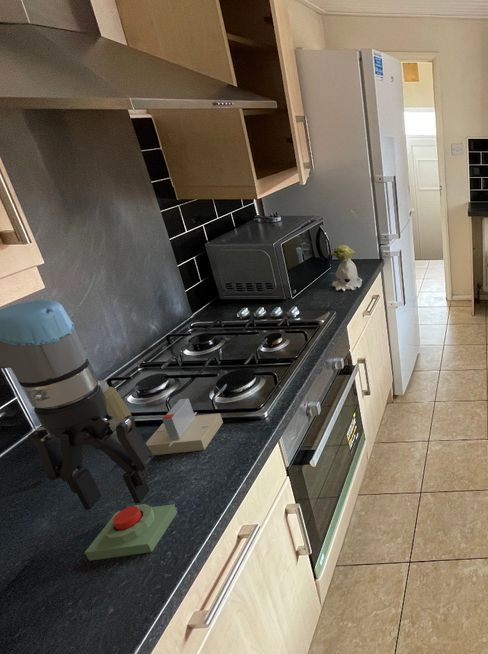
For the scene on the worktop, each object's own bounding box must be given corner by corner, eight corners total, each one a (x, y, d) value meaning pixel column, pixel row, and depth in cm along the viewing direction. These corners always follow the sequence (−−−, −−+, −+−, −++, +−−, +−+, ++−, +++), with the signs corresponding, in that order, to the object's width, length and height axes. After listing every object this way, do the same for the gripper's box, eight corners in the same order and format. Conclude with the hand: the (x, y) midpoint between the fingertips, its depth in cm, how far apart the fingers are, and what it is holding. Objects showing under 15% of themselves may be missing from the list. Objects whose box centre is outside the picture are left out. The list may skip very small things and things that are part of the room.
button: (111, 532, 74) (107, 525, 74) (125, 514, 78) (121, 507, 77) (133, 529, 75) (130, 522, 74) (146, 511, 78) (143, 504, 77)
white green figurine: (357, 277, 192) (351, 239, 185) (366, 286, 182) (361, 246, 176) (330, 283, 185) (323, 244, 178) (339, 293, 176) (332, 252, 169)
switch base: (144, 459, 94) (139, 449, 93) (173, 424, 104) (169, 414, 103) (202, 453, 96) (198, 443, 94) (225, 419, 106) (222, 409, 105)
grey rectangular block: (186, 418, 102) (179, 398, 99) (195, 417, 102) (188, 397, 100) (170, 440, 95) (161, 418, 93) (179, 438, 96) (171, 417, 93)
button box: (88, 560, 73) (80, 545, 72) (120, 519, 80) (113, 504, 79) (151, 552, 75) (144, 537, 73) (177, 512, 82) (171, 497, 80)
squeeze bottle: (130, 418, 106) (105, 358, 99) (141, 431, 102) (115, 370, 95) (87, 437, 100) (57, 375, 93) (97, 452, 96) (66, 389, 89)
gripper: (-33, 418, 60) (35, 527, 69) (121, 404, 63) (167, 510, 72) (15, 386, 67) (71, 489, 76) (152, 375, 70) (191, 475, 79)
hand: (118, 499), depth 74 cm, fingers open, 7 cm apart
